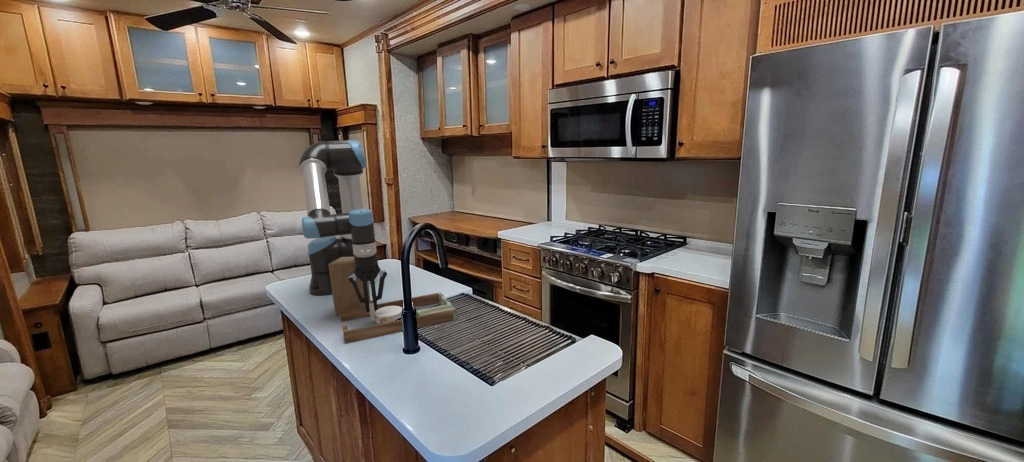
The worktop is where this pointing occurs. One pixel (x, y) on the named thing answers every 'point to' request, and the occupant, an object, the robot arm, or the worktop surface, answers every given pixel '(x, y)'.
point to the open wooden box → (385, 327)
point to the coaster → (388, 313)
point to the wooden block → (345, 285)
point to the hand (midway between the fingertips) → (372, 319)
